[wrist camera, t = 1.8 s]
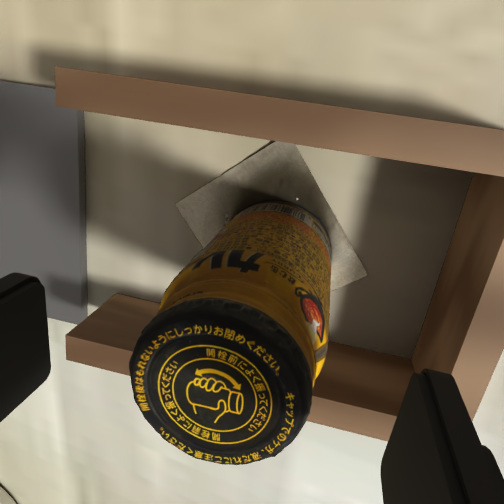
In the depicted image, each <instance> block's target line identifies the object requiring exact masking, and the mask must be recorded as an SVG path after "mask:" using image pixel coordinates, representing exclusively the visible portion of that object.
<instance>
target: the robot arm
mask: <svg viewBox="0 0 504 504" xmlns="http://www.w3.org/2000/svg"><path fill="white" fill-rule="evenodd" d="M50 370H51V362H50V349H49V336H48V323H47V310H46V297H45V288H44V286H43V285H42V284H41V282H40V280H39V278H37V277H35V276H30V275H26V274H22V273H17V272H14V273H10V274H8V275H6V276H4V277H2V278H0V422H1V421H2V420H3V419H4V418H6V417H7V416H8V415H9V414H10V413H11V412H12V411H13V410H14V409H15V408H16V407H17V406H18V405H20V404H21V403H22V402H23V401H24V400H25V399H26V398H27V397H28V396H29V395H30V394H31V393H33V392H34V391H35V390H36V389H37V388H38V387H39V386H40V385H41V384H42V383H43V382H44V381H45V380H46V379H47V377H48V376H49V373H50ZM381 482H382V492H383V502H384V504H504V479H503V476H502V474H501V472H500V469H499V467H498V465H497V462H496V460H495V458H494V456H493V454H492V452H491V451H490V449H488V448H487V447H486V446H483V445H481V442H480V440H479V438H478V435H477V433H476V430H475V428H474V425H473V423H472V421H471V418H470V416H469V413H468V411H467V408H466V406H465V403H464V401H463V399H462V396H461V394H460V391H459V389H458V386H457V384H456V381H455V379H454V377H453V376H452V375H451V374H448V373H443V372H439V371H435V370H431V369H426V368H425V369H423V370H422V371H421V373H420V374H419V373H413V374H412V376H411V378H410V381H409V384H408V387H407V390H406V393H405V395H404V398H403V401H402V404H401V407H400V410H399V412H398V415H397V418H396V421H395V424H394V427H393V429H392V432H391V435H390V438H389V441H388V444H387V446H386V449H385V452H384V455H383V458H382V463H381ZM0 504H16V503H15V501H14V500H13V499H12V498H11V496H10V495H9V494H8V493H7V492H6V491H5V490H4V489H3V488H2V487H0Z"/></svg>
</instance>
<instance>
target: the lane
mask: <svg viewBox="0 0 504 504" xmlns="http://www.w3.org/2000/svg"><path fill="white" fill-rule="evenodd" d="M55 88H56V106H57V107H63V108H70V109H76V110H82V111H89V112H95V113H101V114H108V115H114V116H120V117H127V118H133V119H140V120H146V121H152V122H159V123H165V124H171V125H178V126H184V127H190V128H197V129H203V130H209V131H216V132H222V133H228V134H235V135H241V136H247V137H254V138H260V139H266V140H273V141H279V142H285V143H292V144H298V145H305V146H311V147H317V148H324V149H330V150H336V151H343V152H349V153H355V154H362V155H368V156H374V157H381V158H387V159H393V160H400V161H406V162H412V163H419V164H425V165H431V166H438V167H444V168H451V169H457V170H463V171H470V172H474V175H473V178H472V181H471V184H470V187H469V190H468V192H467V195H466V198H465V201H464V204H463V207H462V210H461V213H460V216H459V219H458V222H457V225H456V228H455V231H454V234H453V237H452V240H451V243H450V246H449V249H448V252H447V255H446V258H445V261H444V264H443V267H442V270H441V273H440V276H439V279H438V282H437V285H436V288H435V291H434V294H433V297H432V300H431V303H430V306H429V309H428V312H427V315H426V317H425V320H424V323H423V326H422V329H421V332H420V335H419V338H418V341H417V344H416V347H415V350H414V353H413V356H412V359H411V360H410V359H405V358H401V357H396V356H392V355H388V354H383V353H379V352H374V351H370V350H365V349H361V348H356V347H352V346H347V345H343V344H339V343H334V342H330V341H328V348H327V353H326V358H325V362H324V365H323V367H322V369H321V372H320V373H319V375H318V376H317V378H316V379H315V383H314V387H313V395H312V406H311V409H310V414H309V415H308V417H307V420H306V421H310V422H313V423H317V424H321V425H325V426H329V427H333V428H337V429H341V430H345V431H349V432H353V433H357V434H361V435H365V436H369V437H372V438H376V439H380V440H384V441H389V438H390V435H391V432H392V429H393V427H394V424H395V421H396V418H397V415H398V412H399V410H400V407H401V404H402V401H403V398H404V395H405V393H406V390H407V387H408V384H409V381H410V378H411V376H412V374H413V373H419V374H420V373H421V371H422V370H423V369H425V368H426V369H431V370H435V371H439V372H443V373H448V374H451V375H452V376H453V377H454V379H455V381H456V384H457V386H458V389H459V391H460V394H461V396H462V399H463V401H464V403H465V406H466V408H467V411H468V413H469V416H470V418H471V421H473V418H474V416H475V414H476V412H477V409H478V407H479V405H480V402H481V400H482V398H483V395H484V393H485V391H486V388H487V386H488V384H489V381H490V379H491V377H492V374H493V372H494V370H495V367H496V365H497V363H498V361H499V358H500V356H501V354H502V351H503V349H504V130H500V129H492V128H485V127H478V126H471V125H464V124H457V123H450V122H443V121H436V120H429V119H422V118H415V117H408V116H401V115H394V114H387V113H380V112H373V111H366V110H359V109H352V108H345V107H338V106H331V105H324V104H317V103H310V102H303V101H296V100H288V99H281V98H274V97H267V96H260V95H253V94H246V93H239V92H232V91H225V90H218V89H211V88H204V87H197V86H190V85H183V84H176V83H169V82H162V81H155V80H148V79H141V78H134V77H127V76H120V75H113V74H106V73H99V72H92V71H84V70H77V69H70V68H63V67H56V66H55ZM159 306H160V303H156V302H152V301H147V300H143V299H138V298H134V297H129V296H125V295H120V294H115V295H114V296H113V297H111V298H110V299H109V300H108V301H106V302H105V303H104V304H103V305H102V306H100V307H99V308H98V309H97V310H96V311H94V312H93V313H92V314H91V315H89V316H88V317H87V318H86V319H85V320H83V321H82V322H81V323H80V324H78V325H77V326H76V327H75V328H74V329H72V330H71V331H70V332H69V333H68V334H66V335H65V337H66V360H70V361H74V362H78V363H82V364H85V365H89V366H93V367H97V368H101V369H105V370H109V371H113V372H117V373H121V374H125V375H129V376H130V371H129V361H130V358H131V355H132V354H133V351H134V348H135V345H136V343H137V340H138V338H139V337H140V336H141V332H142V330H143V329H144V328H145V326H146V325H148V324H149V323H150V321H151V320H152V319H153V318H154V317H155V316H156V314H157V312H158V311H159Z"/></svg>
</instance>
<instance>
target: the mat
mask: <svg viewBox="0 0 504 504" xmlns="http://www.w3.org/2000/svg"><path fill="white" fill-rule="evenodd" d="M14 272H17V273H22V274H26V275H30V276H35V277H37V278H39V280H40V282H41V284H42V285H43V286H44V288H45V297H46V310H47V317H48V318H52V319H57V320H61V321H65V322H69V323H73V324H77V325H78V324H80V323H81V322H82V321H83V320H85V319H86V318H87V256H86V195H85V135H84V111H82V110H76V109H70V108H63V107H57V106H56V89H55V88H48V87H42V86H35V85H28V84H22V83H15V82H8V81H2V80H0V278H2V277H4V276H6V275H8V274H10V273H14Z"/></svg>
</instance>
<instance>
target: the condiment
mask: <svg viewBox="0 0 504 504" xmlns="http://www.w3.org/2000/svg"><path fill="white" fill-rule="evenodd" d="M296 198H299V200H296ZM175 205H176V206H177V208H178V209H179V211H180V213H181V214H182V216H183V218H184V219H185V221H186V222H187V223H188V225H189V226H190V228H191V230H192V232H193V234H194V235H195V237H196V238H197V239H198V240H199V242H200V244H201V245H202V247H203V249H202V251H200V252H199V253H198V254H197V255H196V256H195V257H194V258H193V259H192V260H191V261H190V263H189V264H188V265H187V266H186V267H185V268H184V269H183V270H182V271H181V272H180V273H179V274H178V275H177V276H176V277H175V278H174V280H173V281H172V282H171V284H170V285H169V287H168V288H167V289H166V291H165V293H164V296H163V298H162V300H161V304H160V306H159V311H158V312H157V314H156V316H155V317H154V318H153V319H152V320H151V321H150V323H149V324H148V325H146V326H145V328H144V329H143V330H142V332H141V336H140V337H139V338H138V340H137V343H136V345H135V348H134V351H133V354H132V355H131V358H130V361H129V371H130V376H131V384H132V388H133V393H134V399H135V402H136V403H137V405H138V406H139V408H140V410H141V412H142V414H143V416H144V418H145V419H146V420H147V421H148V422H149V424H150V425H151V426H152V427H153V428H154V429H155V430H156V431H157V432H158V433H159V434H160V435H161V436H162V438H163V439H165V440H166V441H167V442H169V443H171V444H173V445H174V446H175V447H177V448H178V449H180V450H182V451H183V452H185V453H187V454H188V455H190V456H193V457H195V458H197V459H201V460H205V461H210V462H214V463H219V464H233V465H239V464H248V463H252V462H255V461H260V460H263V459H265V458H268V457H275V456H276V455H277V454H278V453H280V452H281V451H282V450H283V449H284V448H285V447H286V446H288V445H289V444H290V443H291V442H292V441H293V440H294V439H295V437H296V436H297V435H298V433H299V432H300V430H301V429H302V427H303V425H304V424H305V422H306V420H307V417H308V415H309V414H310V409H311V406H312V395H313V387H314V383H315V379H316V378H317V376H318V375H319V373H320V372H321V369H322V367H323V365H324V362H325V358H326V353H327V348H328V334H329V315H330V314H329V309H330V291H333V290H336V289H338V288H340V287H343V286H345V285H347V284H350V283H352V282H354V281H357V280H359V279H361V278H363V277H365V276H367V273H366V271H365V269H364V267H363V266H362V264H361V262H360V260H359V258H358V256H357V255H356V253H355V251H354V249H353V247H352V245H351V244H350V242H349V241H348V239H347V237H346V235H345V233H344V231H343V229H342V227H341V226H340V224H339V222H338V221H337V219H336V217H335V215H334V213H333V212H332V210H331V208H330V206H329V204H328V203H327V201H326V199H325V198H324V196H323V194H322V192H321V191H320V189H319V187H318V185H317V183H316V181H315V179H314V178H313V176H312V174H311V172H310V170H309V168H308V167H307V165H306V163H305V161H304V160H303V158H302V156H301V155H300V153H299V151H298V149H297V147H296V146H295V144H292V143H285V142H279V141H275V142H274V143H272V144H270V145H269V146H267V147H266V148H264V149H262V150H261V151H259V152H258V153H256V154H254V155H253V156H251V157H250V158H248V159H246V160H245V161H243V162H242V163H240V164H239V165H237V166H235V167H234V168H232V169H230V170H229V171H227V172H226V173H224V174H222V175H221V176H219V177H217V178H216V179H214V180H213V181H211V182H209V183H208V184H206V185H205V186H203V187H201V188H200V189H198V190H197V191H195V192H194V193H192V194H190V195H189V196H187V197H185V198H184V199H182V200H181V201H179V202H177V203H176V204H175ZM227 212H228V218H227V219H226V218H225V214H226V213H227ZM225 221H228V224H226V225H225Z"/></svg>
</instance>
